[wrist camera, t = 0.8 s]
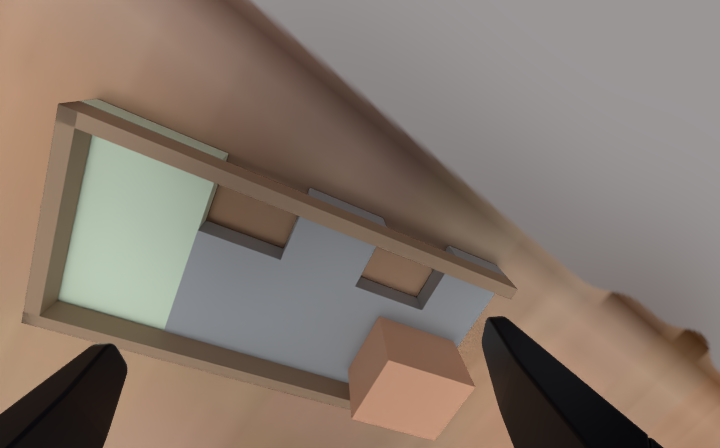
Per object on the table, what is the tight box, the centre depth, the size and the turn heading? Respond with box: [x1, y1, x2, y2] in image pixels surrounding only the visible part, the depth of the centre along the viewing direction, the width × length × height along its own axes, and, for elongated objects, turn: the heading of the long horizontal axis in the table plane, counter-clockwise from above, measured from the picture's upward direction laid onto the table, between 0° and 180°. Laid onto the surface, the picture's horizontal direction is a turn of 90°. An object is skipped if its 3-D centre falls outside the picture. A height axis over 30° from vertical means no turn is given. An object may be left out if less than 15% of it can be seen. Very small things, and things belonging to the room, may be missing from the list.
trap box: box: [22, 99, 518, 410], centre depth 23 cm, size 13×26×3 cm, turn 64°
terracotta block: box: [348, 316, 475, 441], centre depth 24 cm, size 5×6×4 cm
